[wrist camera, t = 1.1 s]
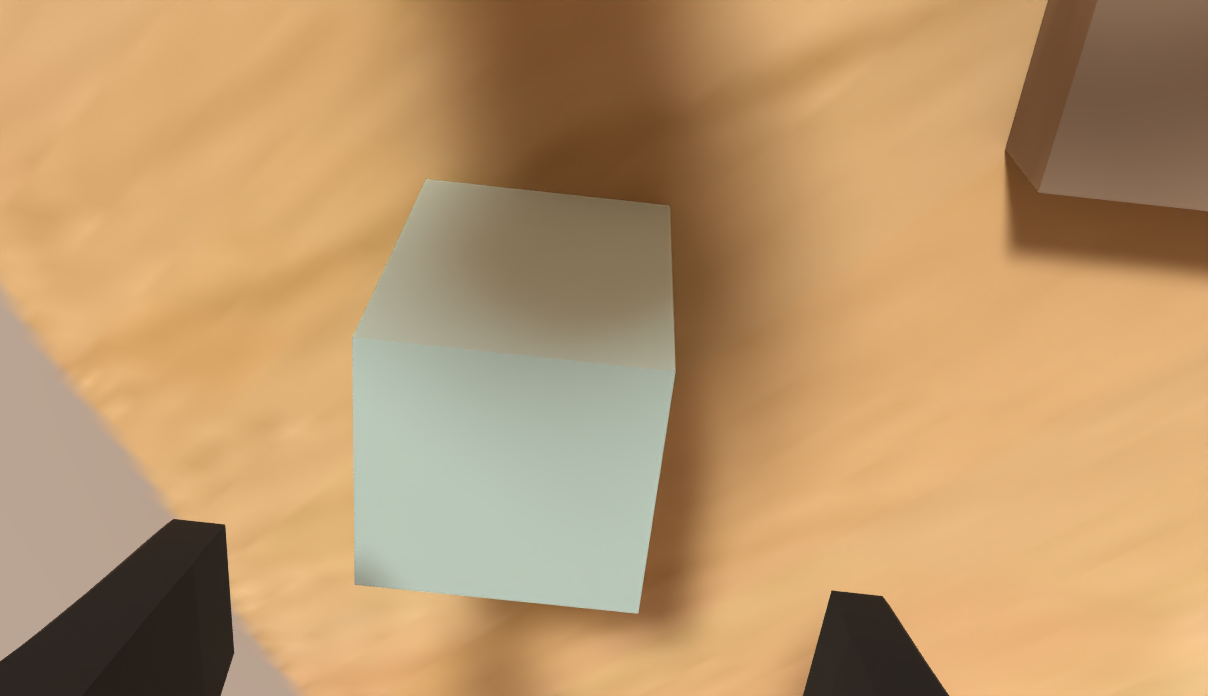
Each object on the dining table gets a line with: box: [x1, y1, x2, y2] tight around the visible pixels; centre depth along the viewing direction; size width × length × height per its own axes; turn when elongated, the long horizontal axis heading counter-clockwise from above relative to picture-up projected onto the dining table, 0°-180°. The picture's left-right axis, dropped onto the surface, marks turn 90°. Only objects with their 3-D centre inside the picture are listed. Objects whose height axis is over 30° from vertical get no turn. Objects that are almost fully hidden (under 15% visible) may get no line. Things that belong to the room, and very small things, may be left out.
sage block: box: [353, 179, 676, 614], centre depth 20 cm, size 4×4×6 cm
